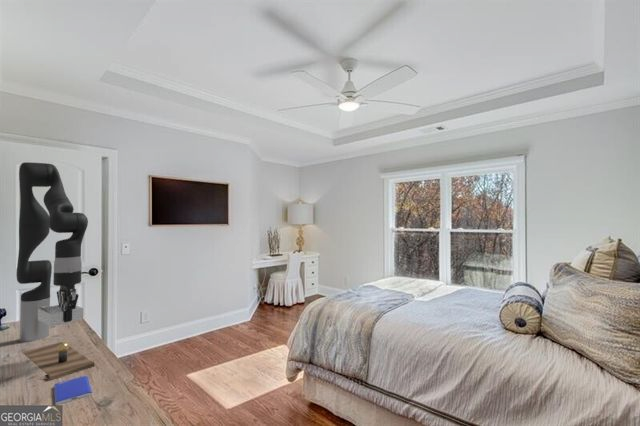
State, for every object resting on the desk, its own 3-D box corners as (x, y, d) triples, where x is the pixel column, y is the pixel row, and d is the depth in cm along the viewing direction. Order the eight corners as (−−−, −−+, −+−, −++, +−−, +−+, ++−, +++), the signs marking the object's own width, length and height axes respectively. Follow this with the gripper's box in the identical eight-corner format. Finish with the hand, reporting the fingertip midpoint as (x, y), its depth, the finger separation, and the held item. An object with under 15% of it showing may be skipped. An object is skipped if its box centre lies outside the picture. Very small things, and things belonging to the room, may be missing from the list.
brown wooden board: (21, 355, 118) (22, 351, 118) (61, 344, 128) (61, 341, 128) (50, 380, 100) (50, 376, 100) (94, 366, 110) (94, 362, 110)
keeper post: (55, 361, 110) (55, 343, 110) (66, 358, 113) (67, 340, 113) (58, 364, 108) (59, 345, 108) (70, 360, 111) (70, 342, 111)
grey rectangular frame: (37, 319, 112) (38, 308, 113) (68, 313, 120) (69, 303, 120) (50, 326, 104) (50, 314, 104) (82, 319, 112) (83, 308, 112)
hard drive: (54, 383, 96) (55, 401, 87) (87, 375, 101) (92, 391, 92) (54, 388, 96) (55, 407, 87) (87, 380, 101) (92, 396, 92)
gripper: (47, 270, 110) (46, 320, 109) (61, 273, 102) (59, 327, 101) (73, 267, 116) (72, 315, 115) (88, 270, 108) (87, 321, 107)
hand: (66, 320), depth 108 cm, fingers closed on grey rectangular frame, 1 cm apart
